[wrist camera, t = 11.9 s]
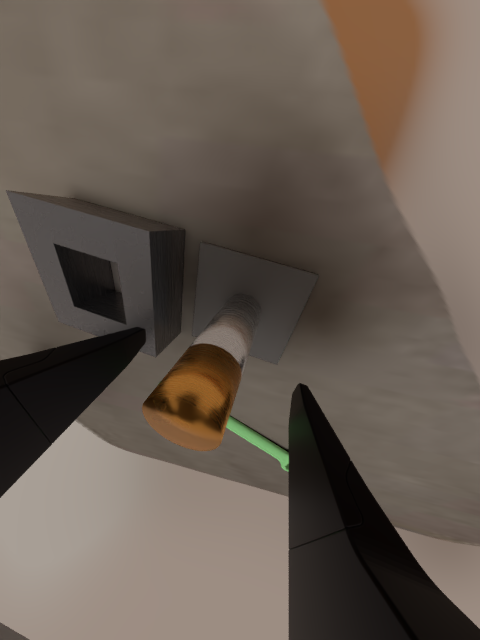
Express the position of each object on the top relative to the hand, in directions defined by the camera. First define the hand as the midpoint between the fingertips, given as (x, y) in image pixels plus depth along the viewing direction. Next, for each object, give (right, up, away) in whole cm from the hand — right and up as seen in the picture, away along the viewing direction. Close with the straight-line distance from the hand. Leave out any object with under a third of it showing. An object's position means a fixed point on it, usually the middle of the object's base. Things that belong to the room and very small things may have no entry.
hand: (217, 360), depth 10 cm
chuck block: (-9, +7, +7) cm, 13 cm away
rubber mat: (+2, +3, +6) cm, 7 cm away
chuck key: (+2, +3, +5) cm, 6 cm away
